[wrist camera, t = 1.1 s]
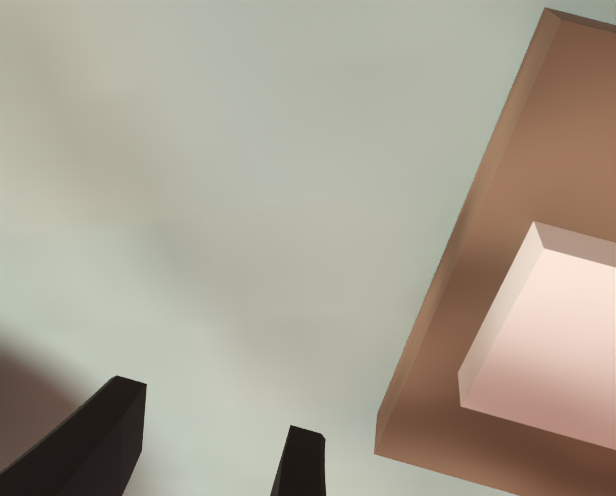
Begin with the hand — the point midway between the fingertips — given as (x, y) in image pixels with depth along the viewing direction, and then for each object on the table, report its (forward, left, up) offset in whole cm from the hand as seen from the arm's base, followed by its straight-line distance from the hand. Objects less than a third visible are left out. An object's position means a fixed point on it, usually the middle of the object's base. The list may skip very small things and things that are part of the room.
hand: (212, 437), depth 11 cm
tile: (0, -11, -7) cm, 13 cm away
